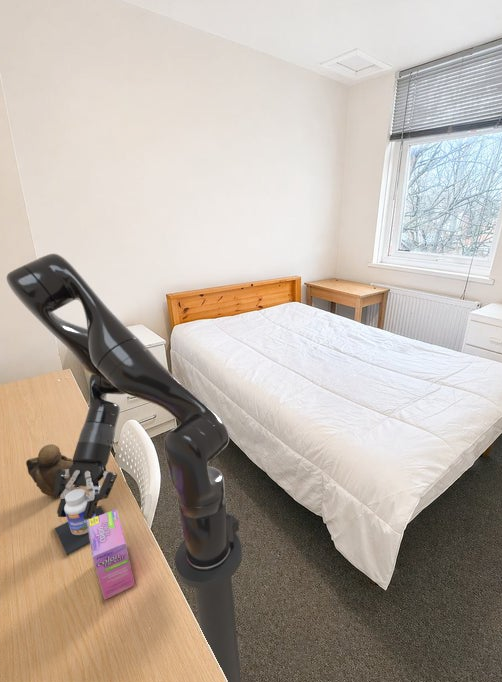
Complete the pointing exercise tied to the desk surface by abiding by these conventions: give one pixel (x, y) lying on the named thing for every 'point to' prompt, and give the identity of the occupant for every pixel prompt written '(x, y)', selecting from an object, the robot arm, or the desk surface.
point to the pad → (74, 536)
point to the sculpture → (48, 468)
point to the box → (110, 553)
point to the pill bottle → (77, 511)
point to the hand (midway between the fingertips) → (74, 517)
